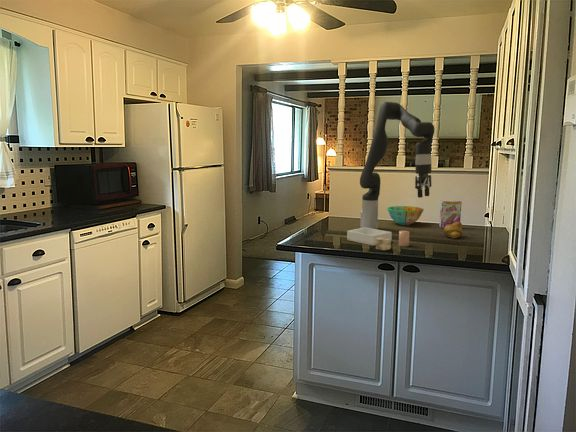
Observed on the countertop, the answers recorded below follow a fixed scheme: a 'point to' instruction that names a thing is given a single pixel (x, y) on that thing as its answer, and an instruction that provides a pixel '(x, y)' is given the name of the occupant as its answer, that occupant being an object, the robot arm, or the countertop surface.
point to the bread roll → (453, 230)
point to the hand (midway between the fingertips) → (423, 196)
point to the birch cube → (383, 243)
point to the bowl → (405, 214)
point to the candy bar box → (449, 212)
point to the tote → (367, 235)
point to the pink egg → (403, 238)
